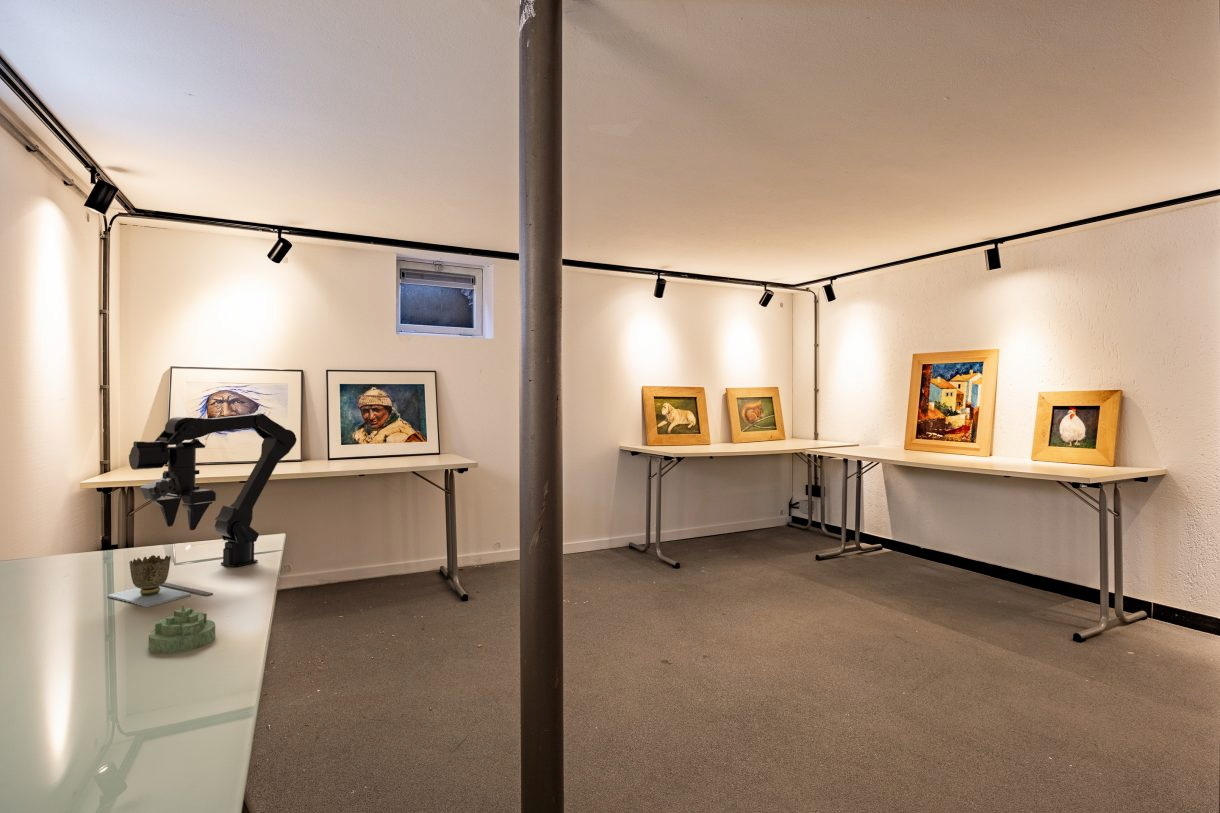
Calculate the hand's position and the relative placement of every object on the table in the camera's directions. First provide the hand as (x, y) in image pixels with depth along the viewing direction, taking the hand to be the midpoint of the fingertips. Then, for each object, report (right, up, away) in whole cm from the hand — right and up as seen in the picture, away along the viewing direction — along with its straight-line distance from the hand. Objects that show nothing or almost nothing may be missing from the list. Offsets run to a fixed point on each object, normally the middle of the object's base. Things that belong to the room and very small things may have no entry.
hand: (181, 528), depth 153 cm
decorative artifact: (+30, -13, -42) cm, 53 cm away
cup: (+5, -12, -16) cm, 21 cm away
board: (+4, -12, -16) cm, 21 cm away
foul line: (+7, -12, -10) cm, 18 cm away
